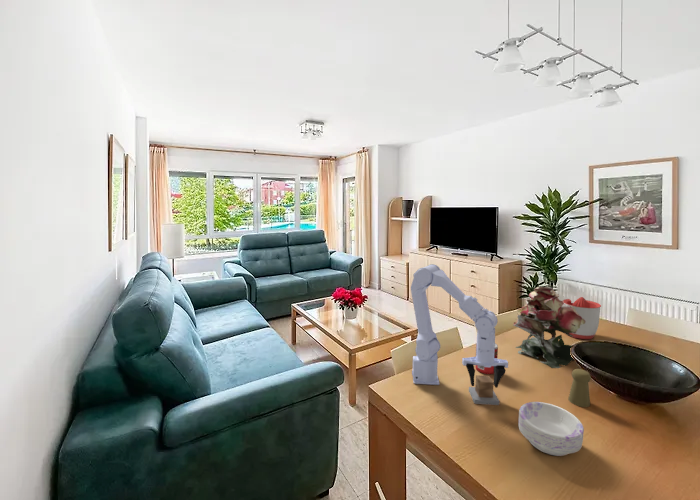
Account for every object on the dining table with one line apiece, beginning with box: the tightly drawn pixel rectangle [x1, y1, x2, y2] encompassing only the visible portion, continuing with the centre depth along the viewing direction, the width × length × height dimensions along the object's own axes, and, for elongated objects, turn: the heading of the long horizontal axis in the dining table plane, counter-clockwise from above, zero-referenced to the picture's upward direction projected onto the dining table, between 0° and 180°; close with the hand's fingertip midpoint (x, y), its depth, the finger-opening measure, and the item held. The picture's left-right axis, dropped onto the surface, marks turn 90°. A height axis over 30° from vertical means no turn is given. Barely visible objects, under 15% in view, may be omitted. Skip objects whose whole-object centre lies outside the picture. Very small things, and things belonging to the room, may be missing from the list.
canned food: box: [475, 342, 499, 375], centre depth 131 cm, size 8×8×11 cm
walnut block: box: [474, 374, 494, 398], centre depth 113 cm, size 4×4×6 cm
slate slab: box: [468, 386, 500, 406], centre depth 113 cm, size 8×8×2 cm
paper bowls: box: [518, 401, 585, 457], centre depth 91 cm, size 15×15×8 cm
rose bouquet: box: [513, 285, 586, 369], centre depth 147 cm, size 26×29×30 cm
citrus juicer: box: [562, 296, 602, 340], centre depth 165 cm, size 16×17×20 cm
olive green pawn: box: [568, 368, 592, 408], centre depth 109 cm, size 6×6×11 cm
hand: (483, 385), depth 113 cm, fingers open, 7 cm apart
